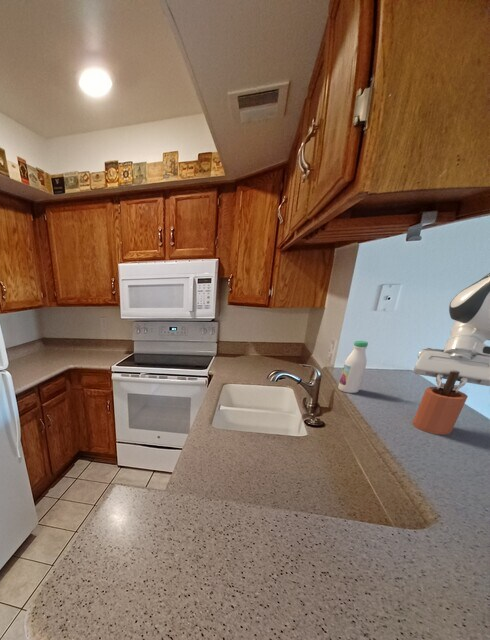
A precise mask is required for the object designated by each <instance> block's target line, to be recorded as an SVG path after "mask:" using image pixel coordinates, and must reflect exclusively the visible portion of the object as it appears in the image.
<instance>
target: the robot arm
mask: <svg viewBox="0 0 490 640" xmlns="http://www.w3.org/2000/svg"><path fill="white" fill-rule="evenodd" d="M448 312H449V316H450V319H451V320H453V321H454V323H453V324H452V326H451V330H450V337H449V338H448V339H447V341H446V343H445V346H444V348H443V349H440V348H432V347H426V348H422V349H421V350H420V351H418V354H417V359H418V360H417V361H416V362H415V365H414V368H413V373H414V374H415V375H418V376H425V377H432V378H435V382H436V384H437V386H436V387H437V390H443V388H444V386H445V383H446V382H445V383H444V382H443V381H442V380H447V378H448V376H449V374H450V371H459V372H460V373H459V376H458V378H457V380H456V382H459V383H458V384H455V385H454V387H453V389H452V391H451V392H453V393H457V392H458V391H460V389H461V388H462V387H464V386H466V384H467V383H468V384H473V385H480V386H486V387H490V345H487V344H485V342H486V341H490V272H489V273H487V274H486V275H484V276H483V277H482V278H480V279H479V280H477V281H476V282H474V283H472V284H470V285H468V286H467V287H465V288H463V289H462V290H461V291H460V292H458V293H457V294H455V296H454V297H453V298H452V299H451V301H450V302H449V307H448Z"/></svg>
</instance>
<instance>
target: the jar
mask: <svg viewBox="0 0 490 640" xmlns="http://www.w3.org/2000/svg"><path fill="white" fill-rule="evenodd" d="M437 387H438V386H430V387H426V388H425V391H424V393H423V396H422V398H421V400H420V403H419V405H418V408H417V410H416V413H415V416H414V418H413V420H412V425H413V427H415V428H416V429H418V430H420V431H422V432H426V433H429V434H433V435H440V436H441V435H443V436H444V435H449V434H451V433H452V432H453V430H454V427H455V425H456V423H457V421H458V418H459V416H460V415H461V412H462V410H463V408H464V406H465V404H466V402H467V399H468V394H466V393H465V392H462V391H460V390H459V391H458V392H457V393H453V392H451V394H450V396H449V397H447V396H442V395H441V392H442V390H437Z"/></svg>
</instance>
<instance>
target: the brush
mask: <svg viewBox="0 0 490 640" xmlns="http://www.w3.org/2000/svg"><path fill="white" fill-rule="evenodd" d="M459 373H460V372H459V371H450V374H449V376H448V378H447V379H446V381H445V386H444V388H443V390H442V392H441V395H442V396H447V397H449V396H450V394H451V391H452V389H453V387H454V385H456V382H457V381H456V380H457V378H458V376H459Z"/></svg>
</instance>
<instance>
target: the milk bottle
mask: <svg viewBox="0 0 490 640" xmlns="http://www.w3.org/2000/svg"><path fill="white" fill-rule="evenodd" d="M368 346H369V342H368V341H365V340H355V341H354V343H353V349H352V351H351V352H350V354H349V355H348V356H347V357H346V359H345V361H344V365H343V368H342V372H341V375H340V380H339V382H338V387H337V388H338V390H339V391H341V392H344V393H350V394H356V393H358V392H359V391H360V388H361V385H362V382H363V379H364V378H363V377H364V374H365V371H366V366H367V356H366V349H368Z"/></svg>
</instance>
